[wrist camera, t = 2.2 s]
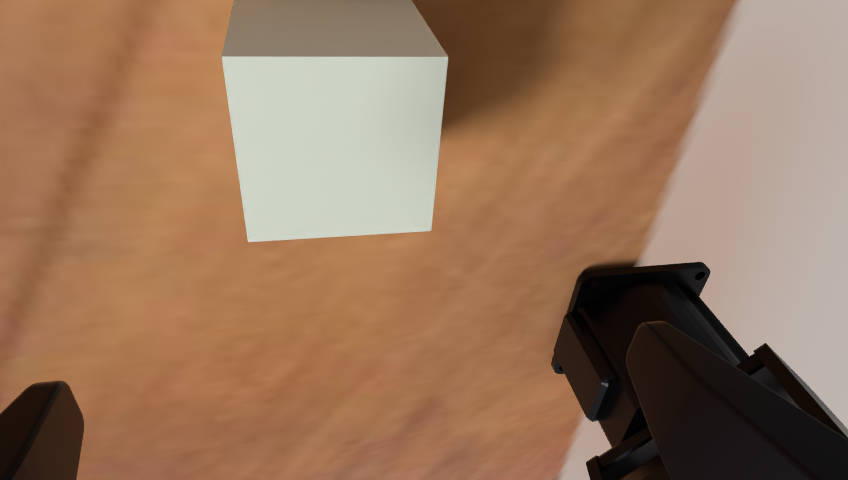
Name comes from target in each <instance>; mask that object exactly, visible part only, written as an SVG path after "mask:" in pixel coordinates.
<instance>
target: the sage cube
mask: <svg viewBox="0 0 848 480" xmlns="http://www.w3.org/2000/svg"><path fill="white" fill-rule="evenodd" d="M222 62H223V69H224V76H225V83H226V90H227V97H228V104H229V111H230V118H231V125H232V132H233V139H234V146H235V153H236V161H237V168H238V175H239V182H240V189H241V196H242V203H243V210H244V217H245V224H246V231H247V238H248V242H257V241H273V240H290V239H306V238H323V237H339V236H355V235H372V234H388V233H405V232H421V231H431V226H432V216H433V206H434V196H435V186H436V176H437V166H438V156H439V146H440V136H441V125H442V115H443V105H444V95H445V85H446V75H447V65H448V56H447V54H446V53H445V51H444V50H443V48H442V46H441V45H440V43H439V42H438V40H437V39H436V37H435V36H434V34H433V33H432V31H431V29H430V28H429V26H428V25H427V23H426V22H425V20H424V19H423V17H422V16H421V14H420V13H419V11H418V9H417V8H416V6H415V5H414V3H413V2H412V0H234V2H233V7H232V11H231V16H230V21H229V25H228V30H227V35H226V39H225V44H224V48H223V53H222Z"/></svg>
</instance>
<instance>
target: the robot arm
mask: <svg viewBox="0 0 848 480" xmlns="http://www.w3.org/2000/svg"><path fill="white" fill-rule="evenodd" d="M709 275H710V270H709V268H708V267H707V266H706V265H705V264H704V263H702V262H694V263H681V264H668V265H656V266H643V267H631V268H618V269H606V270H593V271H587V272H584V273H582V274H581V275H580V276H579V277H578V279H577V282H576V285H575V288H574V291H573V294H572V298H571V301H570V304H569V307H568V310H567V313H566V315H565V316H564V319H563V322H562V326H561V329H560V332H559V335H558V339H557V342H556V345H555V348H554V356H553V359H552V362H551V365H552V367H553V369H554V371H555V373H557V374H565V375H566V377H567V379H568V381H569V383H570V385H571V387H572V389H573V391H574V393H575V395H576V397H577V399H578V401H579V403H580V405H581V407H582V409H583V411H584V413H585V415H586V417H587V418H588V419H589V420H590V421H592V422H593V421H599V423H600V425H601V427H602V429H603V431H604V433H605V435H606V437H607V439H608V441H609V443H610V445H611V446H612V448H611V449H609V450H608V451H607V452H605V453H603V454H602V455H600V456H595V457H593V458H592V459H590V460H589V461H587V462H586V465H587V469H588V473H589V476H590V480H848V429H847V428H846V427H845V426H844V425H843V424H842V423H841V421H840V420H839V419H838V418H837V417H836V416H835V415H834V414H833V413H832V411H831V410H830V409H829V408H828V407H827V406H826V405H825V404H824V403H823V402H822V401H821V400H820V398H819V397H818V396H817V395H816V394H815V393H814V392H813V391H812V390H811V389H810V387H809V386H808V385H807V384H806V383H805V382H804V381H803V380H802V379H801V378H800V377H799V376H798V375H797V374H796V373H795V372H794V371H793V370H792V369H791V368H790V367H789V366H788V365H787V364H786V363H785V362H784V361H783V360H782V359H781V358H780V357H779V356H778V355H777V354H776V353H775V352H774V351H773V350H772V349H771V348H770V347H769V346H768V345H767V344H766V343H765V344H763V345H762V346H760V347H759V348H757V349H756V350H754V353H755V354H753V355H751V356H750V357H749V356H748V355H747V353H746V352H745V351H744V350H743V348H742V347H741V346H740V345H739V344H738V342H737V341H736V340H735V339H734V338H733V337H732V335H731V334H730V333H729V332H728V331H727V329H726V328H725V327H724V326H723V325H722V324H721V323H720V321H719V320H718V319H717V318H716V316H715V315H714V314H713V313H712V312H711V310H710V309H709V308H708V307H707V306H706V305H705V303H704V302H703V301H702V300H701V299H700V297H699V295H700V293H701V291H702V289H703V287H704V285H705V283H706V281H707V279H708V277H709ZM588 282H589V283H588ZM83 433H84V420H83V415H82V413H81V411H80V408H79V406H78V404H77V402H76V400H75V398H74V395H73V393H72V391H71V389H70V387H69V385H68V384H67V383H66V382H64V381H52V382H41V383H35V384H32V385H31V386H29V387H28V388H26V389H25V390H24V391H23V392H22V393H21V394H20V395H19V396H18V397H17V398H16V399H15V400H14V401H13V402H12V403H11V404H10V405H9V406H8V407H7V408H6V409H5V410H4V411H3V412H2V413H1V414H0V480H76V479H77V472H78V465H79V459H80V452H81V446H82V439H83Z"/></svg>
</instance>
